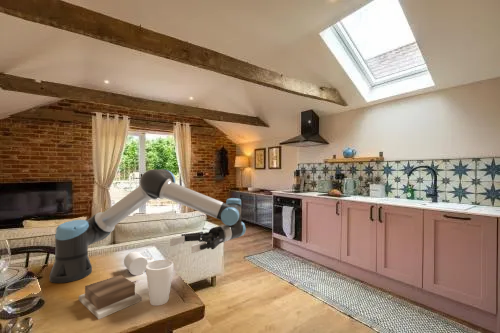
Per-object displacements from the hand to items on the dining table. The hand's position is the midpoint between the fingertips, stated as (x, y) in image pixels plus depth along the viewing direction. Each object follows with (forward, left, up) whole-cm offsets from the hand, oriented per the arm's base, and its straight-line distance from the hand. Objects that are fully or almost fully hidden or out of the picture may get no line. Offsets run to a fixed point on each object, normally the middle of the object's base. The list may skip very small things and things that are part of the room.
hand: (180, 245), depth 94 cm
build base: (-14, -20, -18) cm, 30 cm away
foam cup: (0, -9, -18) cm, 20 cm away
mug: (-31, 0, -18) cm, 36 cm away
